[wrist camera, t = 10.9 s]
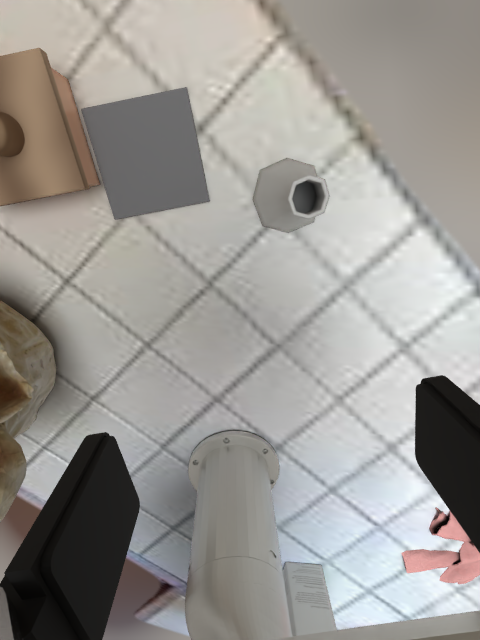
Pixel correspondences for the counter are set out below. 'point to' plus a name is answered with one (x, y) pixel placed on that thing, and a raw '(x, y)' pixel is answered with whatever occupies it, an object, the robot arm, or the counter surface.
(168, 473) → the counter surface
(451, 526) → the cloth
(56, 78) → the open square container
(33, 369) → the ceramic vessel
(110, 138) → the mat
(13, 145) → the lid
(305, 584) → the skincare box
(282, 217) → the flask
